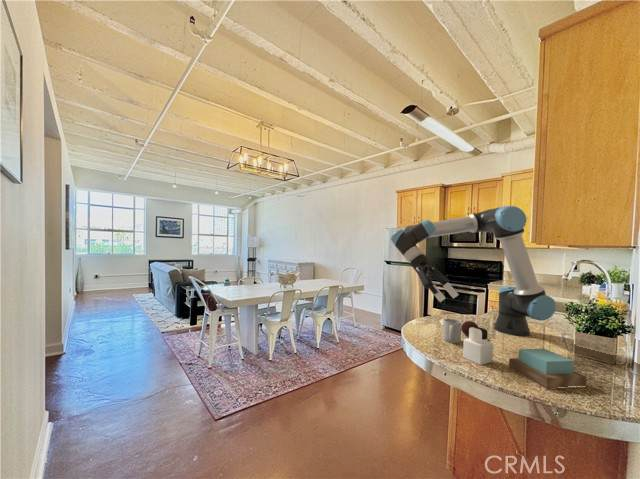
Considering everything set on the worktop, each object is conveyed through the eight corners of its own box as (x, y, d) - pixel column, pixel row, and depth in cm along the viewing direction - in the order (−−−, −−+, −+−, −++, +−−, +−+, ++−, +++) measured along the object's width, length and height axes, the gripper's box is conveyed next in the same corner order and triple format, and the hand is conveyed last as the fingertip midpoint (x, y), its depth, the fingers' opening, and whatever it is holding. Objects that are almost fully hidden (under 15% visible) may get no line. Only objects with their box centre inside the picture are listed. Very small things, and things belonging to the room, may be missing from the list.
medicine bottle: (474, 354, 108) (475, 324, 108) (492, 362, 102) (493, 330, 102) (462, 357, 105) (463, 326, 105) (480, 365, 98) (481, 332, 99)
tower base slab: (543, 368, 99) (543, 357, 99) (586, 389, 85) (586, 376, 85) (509, 369, 97) (509, 358, 97) (546, 391, 83) (547, 377, 83)
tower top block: (543, 359, 97) (544, 348, 97) (573, 373, 87) (573, 360, 87) (518, 360, 96) (519, 349, 96) (546, 374, 86) (546, 361, 86)
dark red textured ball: (477, 334, 133) (477, 320, 133) (479, 339, 126) (479, 324, 126) (460, 332, 136) (460, 318, 136) (461, 337, 129) (462, 322, 129)
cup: (460, 339, 125) (461, 320, 125) (460, 346, 116) (461, 325, 116) (443, 336, 128) (444, 317, 129) (441, 343, 120) (442, 322, 120)
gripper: (423, 263, 133) (454, 300, 122) (396, 264, 115) (429, 307, 104) (434, 253, 129) (467, 290, 118) (408, 252, 112) (444, 296, 101)
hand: (449, 298), depth 111 cm, fingers open, 13 cm apart
